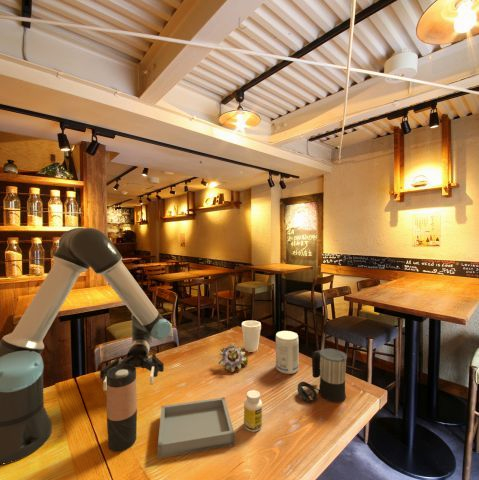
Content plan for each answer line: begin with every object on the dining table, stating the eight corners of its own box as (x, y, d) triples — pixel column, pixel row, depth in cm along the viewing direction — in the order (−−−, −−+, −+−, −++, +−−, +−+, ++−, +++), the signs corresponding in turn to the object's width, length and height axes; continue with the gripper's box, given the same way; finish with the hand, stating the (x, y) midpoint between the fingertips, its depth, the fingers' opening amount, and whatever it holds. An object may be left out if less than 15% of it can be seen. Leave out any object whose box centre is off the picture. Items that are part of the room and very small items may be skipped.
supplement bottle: (256, 435, 77) (256, 401, 77) (240, 427, 80) (240, 395, 80) (265, 423, 82) (265, 392, 82) (249, 417, 85) (249, 386, 84)
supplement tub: (293, 362, 120) (293, 329, 120) (302, 373, 111) (302, 338, 110) (272, 364, 118) (272, 331, 117) (280, 376, 109) (280, 340, 108)
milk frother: (350, 394, 97) (351, 353, 96) (331, 416, 85) (331, 370, 85) (314, 379, 106) (314, 342, 106) (292, 397, 95) (292, 355, 94)
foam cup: (237, 350, 132) (237, 324, 131) (248, 344, 139) (248, 319, 139) (254, 355, 126) (254, 328, 126) (264, 348, 134) (264, 322, 133)
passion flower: (232, 383, 113) (217, 365, 109) (227, 366, 123) (213, 349, 119) (254, 367, 114) (240, 348, 110) (247, 351, 124) (234, 334, 120)
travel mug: (126, 455, 70) (125, 380, 70) (100, 450, 72) (99, 376, 71) (142, 433, 78) (141, 365, 77) (119, 429, 79) (118, 362, 79)
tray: (157, 458, 69) (157, 445, 69) (161, 416, 85) (161, 405, 85) (234, 445, 74) (234, 432, 74) (224, 407, 89) (224, 397, 89)
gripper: (171, 359, 108) (169, 389, 87) (103, 366, 102) (84, 400, 81) (171, 340, 107) (169, 367, 87) (103, 346, 102) (84, 376, 81)
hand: (128, 383), depth 84 cm, fingers open, 13 cm apart
